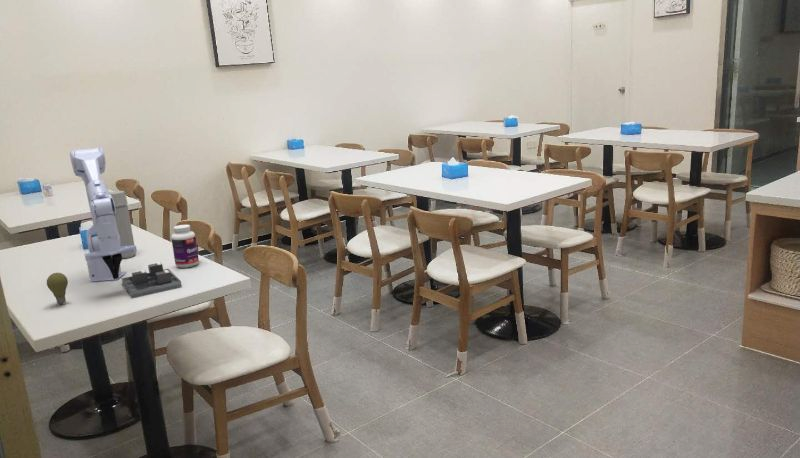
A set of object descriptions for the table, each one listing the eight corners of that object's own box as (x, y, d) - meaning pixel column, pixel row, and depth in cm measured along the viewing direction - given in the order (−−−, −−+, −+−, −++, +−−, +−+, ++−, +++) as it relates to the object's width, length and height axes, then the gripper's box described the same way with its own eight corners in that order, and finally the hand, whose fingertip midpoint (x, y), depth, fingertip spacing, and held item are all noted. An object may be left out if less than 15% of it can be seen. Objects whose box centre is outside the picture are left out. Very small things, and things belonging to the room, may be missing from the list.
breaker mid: (135, 287, 194) (133, 274, 193) (133, 284, 197) (131, 272, 195) (148, 284, 196) (146, 271, 195) (146, 281, 199) (144, 269, 198)
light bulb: (56, 301, 188) (50, 270, 186) (75, 300, 189) (69, 269, 186) (48, 308, 183) (41, 276, 180) (67, 306, 183) (60, 275, 181)
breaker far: (151, 278, 202) (149, 266, 201) (149, 276, 204) (147, 264, 203) (164, 275, 204) (162, 263, 203) (162, 273, 206) (160, 261, 205)
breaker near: (158, 287, 193) (156, 274, 192) (157, 284, 195) (155, 272, 194) (172, 284, 195) (170, 271, 194) (169, 281, 197) (167, 269, 196)
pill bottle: (191, 269, 213) (186, 229, 210) (171, 268, 215) (165, 229, 211) (203, 262, 221) (198, 223, 217) (183, 261, 222) (177, 223, 219)
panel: (131, 298, 187) (130, 292, 187) (122, 284, 201) (121, 278, 201) (181, 286, 195) (180, 281, 195) (169, 274, 209) (168, 268, 209)
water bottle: (141, 254, 235) (130, 191, 229) (122, 260, 228) (111, 195, 222) (126, 252, 240) (115, 189, 233) (108, 257, 233) (96, 193, 227)
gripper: (83, 243, 181) (92, 286, 185) (135, 234, 189) (142, 275, 192) (81, 238, 187) (89, 280, 191) (131, 230, 195) (138, 270, 198)
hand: (115, 278), depth 192 cm, fingers closed
